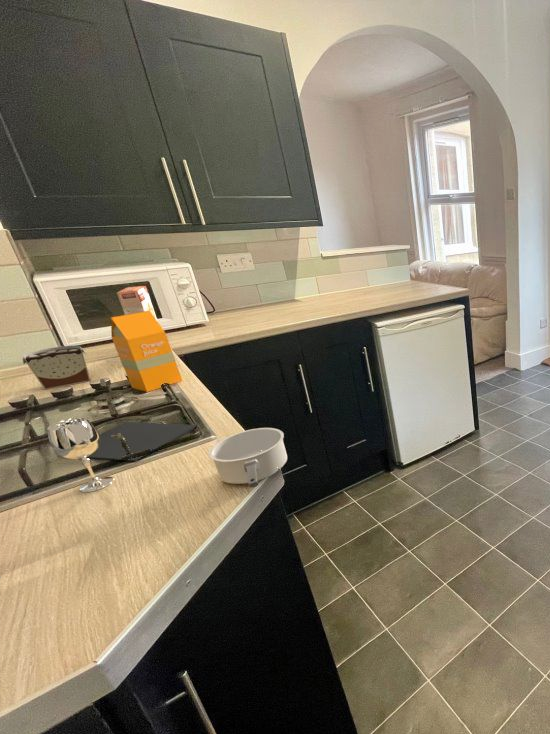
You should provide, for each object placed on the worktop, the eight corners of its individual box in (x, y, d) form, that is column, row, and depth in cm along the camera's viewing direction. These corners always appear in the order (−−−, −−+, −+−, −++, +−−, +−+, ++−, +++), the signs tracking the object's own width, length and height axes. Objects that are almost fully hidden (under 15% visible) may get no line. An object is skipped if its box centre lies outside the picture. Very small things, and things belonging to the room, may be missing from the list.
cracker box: (159, 349, 148) (138, 290, 140) (138, 352, 146) (114, 292, 138) (166, 340, 160) (146, 285, 152) (146, 343, 157) (125, 286, 149)
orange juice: (182, 380, 119) (158, 311, 112) (147, 392, 112) (118, 318, 104) (166, 376, 122) (141, 309, 115) (131, 387, 115) (102, 316, 107)
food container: (99, 374, 126) (85, 342, 122) (97, 379, 122) (83, 346, 118) (40, 385, 119) (24, 351, 115) (37, 391, 115) (19, 356, 111)
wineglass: (74, 484, 73) (43, 423, 68) (117, 471, 77) (90, 412, 72) (74, 499, 69) (41, 435, 65) (120, 484, 73) (91, 422, 68)
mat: (57, 456, 82) (56, 454, 82) (128, 423, 95) (127, 421, 95) (136, 462, 79) (135, 460, 79) (197, 427, 92) (196, 425, 92)
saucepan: (218, 527, 62) (206, 497, 60) (218, 465, 77) (209, 439, 75) (302, 499, 68) (294, 470, 65) (286, 446, 83) (280, 422, 81)
